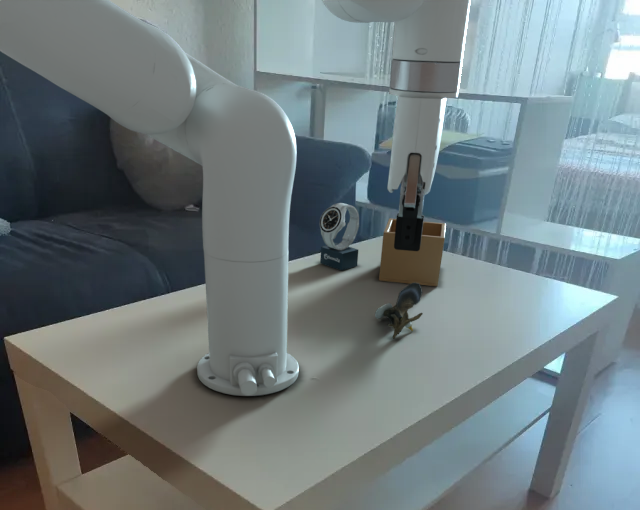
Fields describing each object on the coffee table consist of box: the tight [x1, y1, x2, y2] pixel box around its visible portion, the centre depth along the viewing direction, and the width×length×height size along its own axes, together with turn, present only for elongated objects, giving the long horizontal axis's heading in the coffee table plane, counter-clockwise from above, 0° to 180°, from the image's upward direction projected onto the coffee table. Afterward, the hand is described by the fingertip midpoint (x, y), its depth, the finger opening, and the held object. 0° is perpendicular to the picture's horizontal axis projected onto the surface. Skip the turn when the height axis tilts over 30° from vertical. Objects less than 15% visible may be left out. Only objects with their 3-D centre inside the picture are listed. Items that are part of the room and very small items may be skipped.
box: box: [378, 217, 447, 287], centre depth 114 cm, size 10×10×8 cm
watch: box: [319, 202, 360, 271], centre depth 116 cm, size 6×8×11 cm
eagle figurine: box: [374, 282, 424, 340], centre depth 92 cm, size 8×7×9 cm
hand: (407, 248), depth 78 cm, fingers closed
